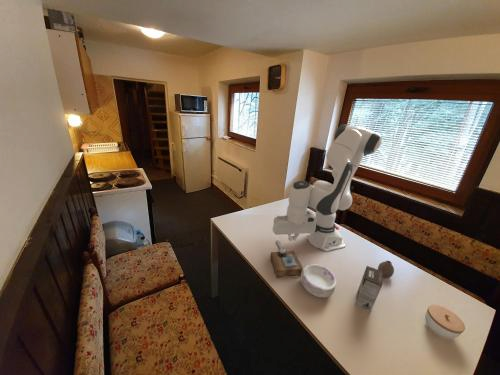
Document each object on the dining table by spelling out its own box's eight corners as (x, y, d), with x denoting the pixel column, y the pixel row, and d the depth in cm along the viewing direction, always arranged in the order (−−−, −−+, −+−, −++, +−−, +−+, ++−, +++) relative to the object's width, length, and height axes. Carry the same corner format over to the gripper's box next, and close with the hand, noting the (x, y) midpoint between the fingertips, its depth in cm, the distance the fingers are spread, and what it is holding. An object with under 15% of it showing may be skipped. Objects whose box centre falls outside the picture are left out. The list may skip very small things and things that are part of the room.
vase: (378, 267, 110) (383, 255, 107) (392, 275, 106) (398, 262, 103) (374, 274, 106) (379, 261, 102) (389, 282, 101) (395, 269, 98)
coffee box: (357, 290, 96) (366, 264, 90) (372, 297, 93) (383, 271, 87) (354, 305, 89) (364, 278, 83) (371, 313, 86) (383, 285, 80)
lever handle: (285, 255, 108) (286, 250, 106) (280, 256, 107) (281, 251, 106) (279, 243, 116) (279, 239, 115) (274, 244, 115) (274, 240, 114)
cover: (292, 258, 107) (293, 251, 105) (296, 266, 101) (297, 259, 100) (281, 258, 106) (282, 252, 104) (285, 267, 100) (286, 260, 99)
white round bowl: (338, 288, 97) (342, 276, 93) (324, 309, 86) (327, 296, 83) (310, 270, 106) (312, 258, 103) (294, 286, 96) (296, 274, 93)
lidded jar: (458, 333, 80) (470, 318, 76) (451, 351, 74) (463, 335, 70) (425, 312, 88) (434, 297, 84) (416, 326, 82) (426, 310, 78)
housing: (292, 257, 114) (293, 250, 112) (300, 275, 102) (302, 268, 100) (270, 259, 112) (271, 251, 110) (276, 277, 100) (277, 270, 98)
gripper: (276, 219, 88) (272, 245, 94) (319, 218, 91) (314, 243, 97) (272, 212, 94) (269, 236, 100) (313, 211, 97) (308, 235, 103)
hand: (292, 239), depth 98 cm, fingers closed
